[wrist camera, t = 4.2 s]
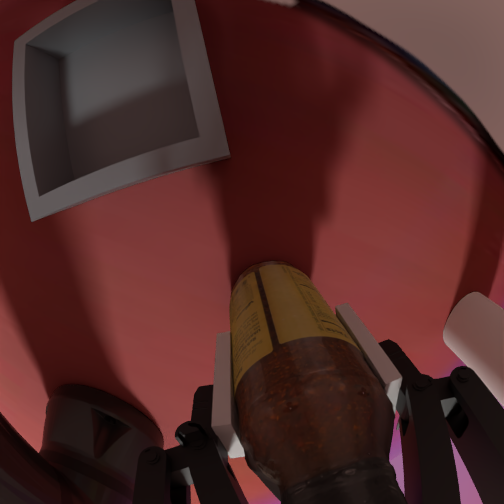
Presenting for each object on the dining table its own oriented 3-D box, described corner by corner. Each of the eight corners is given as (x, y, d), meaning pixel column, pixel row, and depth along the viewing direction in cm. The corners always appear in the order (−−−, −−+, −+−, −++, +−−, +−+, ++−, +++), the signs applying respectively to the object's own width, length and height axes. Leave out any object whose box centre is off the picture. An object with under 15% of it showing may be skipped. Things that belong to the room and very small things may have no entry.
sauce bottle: (249, 339, 22) (276, 599, 3) (215, 275, 20) (182, 608, 1) (324, 309, 22) (445, 548, 3) (299, 240, 20) (494, 532, 1)
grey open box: (74, 206, 18) (31, 222, 13) (52, 58, 14) (14, 40, 9) (230, 157, 18) (229, 154, 13) (194, -1, 14) (185, -41, 8)
